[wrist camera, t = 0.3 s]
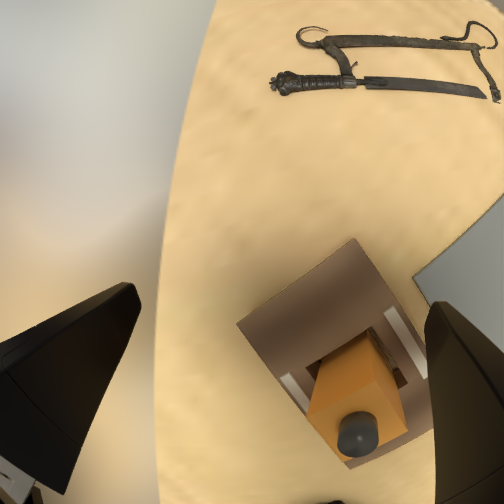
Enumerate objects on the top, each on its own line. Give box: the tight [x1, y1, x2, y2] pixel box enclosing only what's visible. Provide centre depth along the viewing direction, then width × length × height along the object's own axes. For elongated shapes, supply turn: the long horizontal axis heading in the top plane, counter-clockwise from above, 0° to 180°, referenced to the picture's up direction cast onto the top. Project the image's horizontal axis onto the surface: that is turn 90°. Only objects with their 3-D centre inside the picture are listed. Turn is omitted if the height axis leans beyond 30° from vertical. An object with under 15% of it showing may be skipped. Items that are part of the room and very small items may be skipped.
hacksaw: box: [269, 21, 501, 104], centre depth 17 cm, size 24×10×2 cm, turn 91°
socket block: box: [236, 238, 434, 469], centre depth 19 cm, size 16×10×3 cm, turn 37°
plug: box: [306, 329, 408, 462], centre depth 16 cm, size 4×4×10 cm
